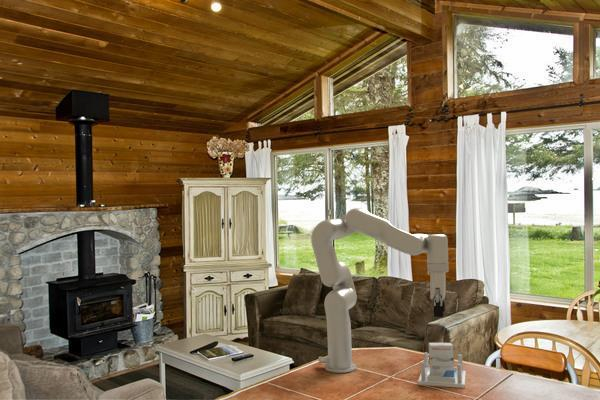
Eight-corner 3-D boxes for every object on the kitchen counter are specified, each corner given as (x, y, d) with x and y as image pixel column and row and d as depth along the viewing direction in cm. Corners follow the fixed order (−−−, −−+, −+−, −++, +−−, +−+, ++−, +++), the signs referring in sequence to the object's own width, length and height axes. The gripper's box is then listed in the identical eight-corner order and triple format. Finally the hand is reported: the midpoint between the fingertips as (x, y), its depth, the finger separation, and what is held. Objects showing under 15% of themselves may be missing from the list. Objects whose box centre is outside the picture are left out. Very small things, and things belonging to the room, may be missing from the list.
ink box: (452, 373, 196) (451, 342, 197) (454, 378, 192) (453, 345, 192) (429, 373, 198) (428, 342, 198) (430, 377, 193) (429, 345, 193)
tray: (418, 384, 189) (417, 363, 190) (422, 371, 205) (421, 351, 205) (464, 388, 184) (463, 366, 185) (465, 373, 200) (464, 353, 200)
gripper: (429, 265, 205) (431, 309, 204) (425, 270, 188) (427, 318, 188) (449, 265, 202) (451, 310, 202) (447, 270, 186) (448, 319, 186)
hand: (439, 314), depth 195 cm, fingers open, 9 cm apart
